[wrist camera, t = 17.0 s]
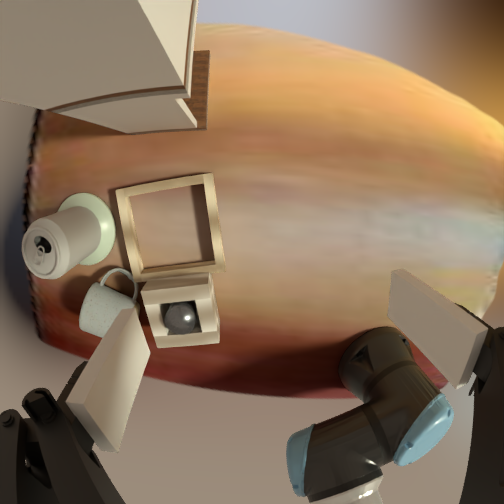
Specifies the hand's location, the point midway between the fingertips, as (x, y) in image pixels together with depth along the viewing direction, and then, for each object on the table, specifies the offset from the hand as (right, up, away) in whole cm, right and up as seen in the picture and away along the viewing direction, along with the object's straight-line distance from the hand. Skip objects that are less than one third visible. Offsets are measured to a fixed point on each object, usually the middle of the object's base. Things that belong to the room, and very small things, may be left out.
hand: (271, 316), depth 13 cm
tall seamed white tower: (-12, +25, +20) cm, 34 cm away
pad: (-26, +7, +24) cm, 36 cm away
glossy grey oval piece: (-11, -4, +26) cm, 29 cm away
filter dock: (-12, +2, +26) cm, 29 cm away
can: (-26, +6, +23) cm, 35 cm away
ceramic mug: (-22, -4, +27) cm, 35 cm away
